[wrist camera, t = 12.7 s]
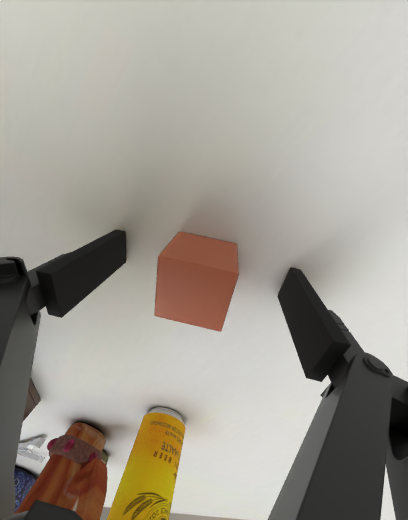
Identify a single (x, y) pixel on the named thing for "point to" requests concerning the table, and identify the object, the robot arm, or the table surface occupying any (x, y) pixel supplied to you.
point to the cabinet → (31, 399)
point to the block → (196, 280)
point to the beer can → (151, 469)
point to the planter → (22, 485)
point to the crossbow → (30, 445)
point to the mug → (73, 474)
